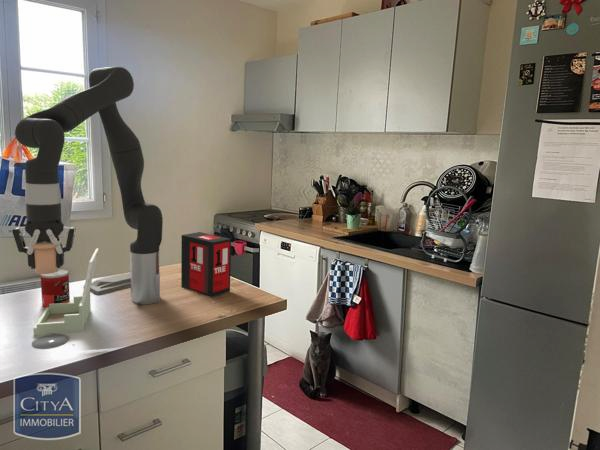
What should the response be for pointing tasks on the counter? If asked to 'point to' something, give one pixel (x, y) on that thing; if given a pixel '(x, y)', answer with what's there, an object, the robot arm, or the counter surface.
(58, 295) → the canned food
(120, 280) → the soap mold
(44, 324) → the box
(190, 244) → the cleaning product box
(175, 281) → the counter surface
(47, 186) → the robot arm
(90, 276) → the glass lid
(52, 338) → the slate saucer
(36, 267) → the terracotta pot
